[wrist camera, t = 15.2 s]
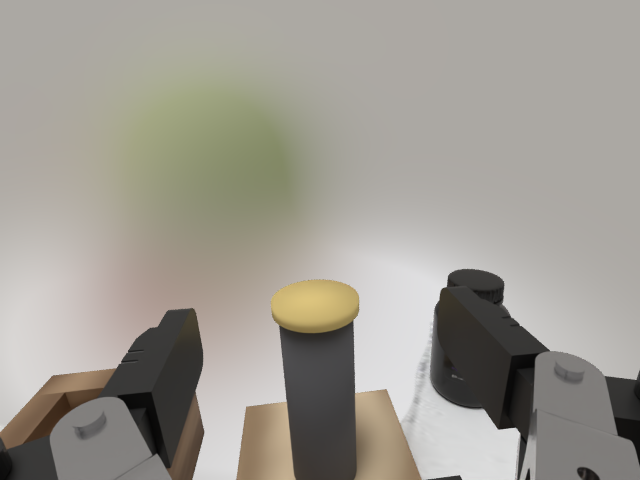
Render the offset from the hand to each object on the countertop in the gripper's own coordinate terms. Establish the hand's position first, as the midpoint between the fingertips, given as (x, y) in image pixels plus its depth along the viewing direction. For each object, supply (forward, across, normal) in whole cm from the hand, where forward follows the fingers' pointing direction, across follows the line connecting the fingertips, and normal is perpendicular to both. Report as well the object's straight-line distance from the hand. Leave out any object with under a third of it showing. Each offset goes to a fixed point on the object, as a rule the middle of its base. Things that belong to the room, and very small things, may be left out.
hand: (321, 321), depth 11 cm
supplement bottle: (+17, -16, +20) cm, 31 cm away
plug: (+10, -1, +20) cm, 22 cm away
